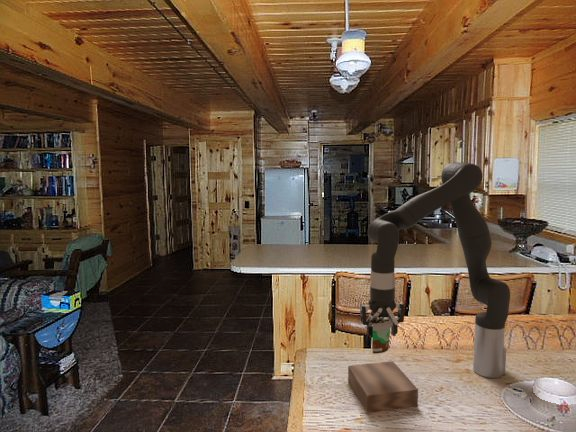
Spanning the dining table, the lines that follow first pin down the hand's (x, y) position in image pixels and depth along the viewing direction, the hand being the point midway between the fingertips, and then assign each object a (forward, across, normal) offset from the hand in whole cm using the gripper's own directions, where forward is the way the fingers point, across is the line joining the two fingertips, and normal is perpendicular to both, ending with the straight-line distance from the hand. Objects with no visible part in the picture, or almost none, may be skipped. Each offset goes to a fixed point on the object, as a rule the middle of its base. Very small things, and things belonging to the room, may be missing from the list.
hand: (381, 335), depth 130 cm
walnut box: (+20, 0, 0) cm, 20 cm away
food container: (+4, 0, 0) cm, 4 cm away
